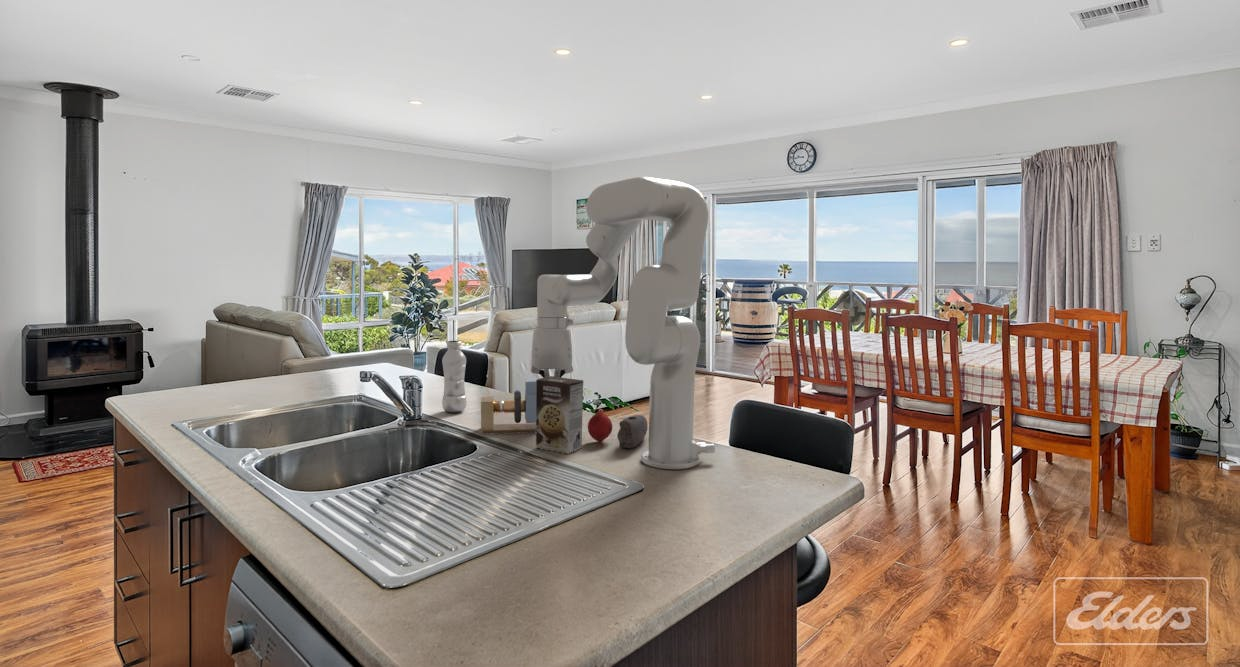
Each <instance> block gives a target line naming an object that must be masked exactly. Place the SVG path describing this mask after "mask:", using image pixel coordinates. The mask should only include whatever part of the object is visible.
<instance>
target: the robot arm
mask: <svg viewBox="0 0 1240 667" xmlns="http://www.w3.org/2000/svg"><path fill="white" fill-rule="evenodd" d="M585 207H586V214H587V217H588V218H589V219H590V221H591V222H593V223H594V224H593V226H592V227H591V229H590V230H589V232H588V233H587V235H586V236H585V243H586V246H587V247H588V249H589V250H590V251H591V253H592V254H594V256H596V257H597V258H598V259H597V262H596V264H595V265H594V267H593V269H592V270H591V271H590V273H587V274H586V273H585V274H584V273H583V274H580V273H578V274H541V275H539V276H538V278H537V282H536V283H537V285H536V287H537V288H536V289H537V291H536V293H537V294H536V295H537V296H536V298H537V300H536V302H537V303H536V310H537V311H536V313H537V314H536V315H537V318H536V320H537V321H536V328H533V335H532V342H531V343H532V344H531V367H530V372H531V373H532V374H536V375H540V376H541V378H545V377H550V370H554V373H553V377H561V378H563V376H564V375H566V374H567V375H568V374H571V373H573V372H574V368H573V342H572V335H571V334H572V333H571V330H570V328H568V327H569V326H570V325H573V324H574V319H573V318H571V319H570V318H569V317H568V307H571V306H572V307H573V306H575V307H576V306H587V305H588V306H589V305H595V304H597V303H599V302H601V301H602V300H603V299H604V298H605V296H606V295H608V293H609V291H610V290H611V289H612V287H613V286H614V284H615V282H616V280H617V277H618V271H619V255H620V253H621V252H622V250H623V249H624V248H625V246H626V244H627V243H628V242H629V240H630V239H631V237H632V236H633V234H634V233H635V232H636V230H637V229H638V227H639V226H640V224H641V223H642V221H643V220H645V221H656V222H657V221H660V222H662V221H664V222H669V223H671V225H670V227H669V229H668V230H667V232H666V234H665V236H664V239H663V241H662V242H663V243H662V246H661V247H662V249H661V258H660V263H659V264H649V265H646V266H643V267H642V268H640V269H639V270H638V271H637V272H636V273H635V275H634V277H633V279H632V280H631V284H630V287H629V289H628V290H629V291H628V299H627V310H626V311H627V313H626V324H625V337H624V338H625V340H624V341H625V348H626V351H627V353H628V355H629V357H630V358H631V359H632V360H633V361H634V362H635V363H637V364H639V365H645V366H648V365H653V367H652V371H651V375H650V382H649V406H648V407H649V409H648V411H649V413H648V415H649V417H648V418H649V419H648V450H645V451H643V452H642V453H641V456H640V457H641V460H640V461H641V462H642V463H643V464H644V465H647V466H649V467H652V468H657V469H662V470H663V469H664V470H665V469H666V470H686V469H690V468H693V467H696V466H698V465H699V464H700V460H701V459H700V455H701V454H703V453H705V454H714V453H715V450H716V449H715V445H714V443H706V442H704V441H703V442H696V441H695V440H694V418H695V417H694V416H695V413H694V412H695V411H694V410H695V388H696V387H695V386H696V384H695V383H696V369H697V362H698V357H699V353H700V352H699V351H700V347H701V333H700V330H699V328H698V326H697V324H696V323H695V322H694V321H693V320H692V319H691V318H689V317H686V316H682V315H667V312H671V311H673V312H674V311H682V310H687V309H690V308H691V307H693V306H694V305H695V304H696V302H697V301H698V297H699V292H700V286H701V274H702V266H703V256H704V255H703V254H704V248H705V247H704V245H705V239H706V235H707V229H708V226H709V225H708V224H709V207H708V204H707V201H706V199H705V197H704V196H703V194H702V193H701V192H700V191H699V190H698V189H697V188H695V187H694V186H692V185H690V184H687V183H685V182H682V181H678V180H671V179H663V178H658V177H657V178H655V177H650V176H637V177H632V178H627V179H626V178H625V179H622V180H618V181H613V182H609V183H604V184H601V185H599V186H597V187H596V188H595V189H593V191H592V192H591V193H590V194H589V196H588V197H587V201H586V206H585Z"/></svg>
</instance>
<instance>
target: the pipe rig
mask: <svg viewBox="0 0 1240 667" xmlns="http://www.w3.org/2000/svg"><path fill="white" fill-rule="evenodd" d="M525 412H526V400H525V399H522V400H521V413H525ZM504 413H505V414H509V413H510V414H512V413H513V414H514V413H515V401H514V400H494V396H485V397H484V396H482V397H481V400H480V434H481V433H494V434H519V433H518V432H520V433H521V432H528V433H536V423H501V424H500V423H498V424H497V423H496V424H495V423H494V420H495V419H494V418H495V417H494V415H495V414H504ZM521 434H522V433H521Z"/></svg>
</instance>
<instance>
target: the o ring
mask: <svg viewBox="0 0 1240 667" xmlns="http://www.w3.org/2000/svg"><path fill="white" fill-rule="evenodd" d="M513 394H514V397H513V399H514V400H513V401H515V413H513V415H514V416H513V418H514V423H515V424H520V423H521V420H522V412H521V401H522V394H521V391H520V390H515V391H514V393H513Z"/></svg>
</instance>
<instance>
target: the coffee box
mask: <svg viewBox="0 0 1240 667" xmlns="http://www.w3.org/2000/svg"><path fill="white" fill-rule="evenodd" d="M535 380H536V381H537V387H536V432H535V448H536V449H537V448H540V449H539V450H543V449H545V450H544V451H548V450H551V451H550V452H554V451H556V452H555V453H559V452H561V453H560V454H565V453H567V454H566V455H570V454H572V453H573V451H574V452H576V451H578V449H579V450H581V449H583V410H584V409H583V406H584V404H583V403H584V402H583V401H584V400H583V398H584V380H583V379H574V378H567V377H554V375H553V376H552V375H551V376H550V377H545V378H543V377H541V378H537V379H535ZM580 448H581V449H580ZM571 452H572V453H571ZM569 453H570V454H569Z"/></svg>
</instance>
